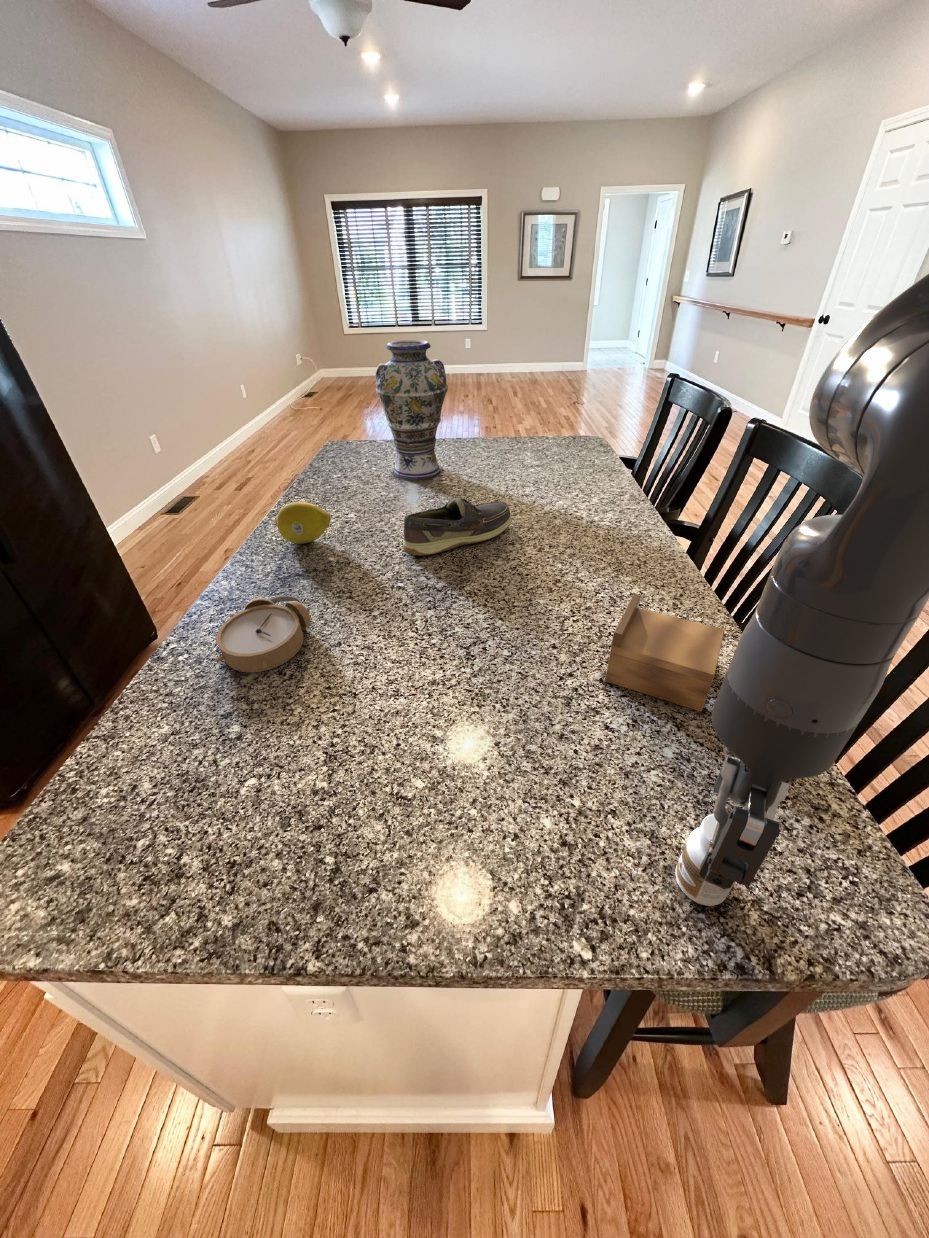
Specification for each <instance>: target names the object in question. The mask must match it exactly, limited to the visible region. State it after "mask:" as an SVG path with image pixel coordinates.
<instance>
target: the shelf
mask: <svg viewBox="0 0 929 1238" xmlns="http://www.w3.org/2000/svg"><path fill="white" fill-rule="evenodd" d="M641 599H642V595H640V594H637V593H633V594H632V596H631V598H630V599H629V602H628V604H627V606H626V608H625V610H624V612H623V614H622V615H621V618H620V620H619V622H618V624H617V626H616V628H615V630H614V631H613V636H612V641H611V646H610V652H609V655H608V656H609V658H608V661H607V668H606V671H605V677H604V682H607V683H609V684H612V685H617V686H619V687H622V688H625V689H628V690H632V691H636V692H638V693H641V694H644V695H646V696H651V697H654V698H657V699H660V700H663V701H667V702H670V703H672V704H676V705H678V706H682V707H685V708H688V709H691V710H695V711H698V712H703V709H704V707H705V703H706V701H707V698H708V695H709V692H710V690H711V687H712V684H713V681H714V678H715V675H716V672H717V671H716V670H717V667H718V662H719V656H720V652H721V648H722V645H723V644H722V643H723V641H724V635H725V631H726V630H725V629H724V628H720V627H716V626H712V625H709V624H705V623H700V622H696V621H692V620H688V619H685V618H680V617H677V616H673V615H668V614H666V613H661V612H657V611H652V610H649V609H645V608H642V607H640V603H641Z"/></svg>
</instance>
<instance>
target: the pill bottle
mask: <svg viewBox="0 0 929 1238" xmlns="http://www.w3.org/2000/svg"><path fill="white" fill-rule="evenodd" d="M716 825H717V821H716V819H715V817H714V813H711V814H708V815H707V816H705V817H704V818H703V820H702V821H701V823H700V826H699V827H697V828H695V829H694V830H692V831H691V833H690V834H689V836H688V837H687V840H686V842H685V844H684V847H683V848H682V851H681V854H680V856H679V859H678V861H677V864H676V866H675V872H674V873H675V879H676V882H677V885H678V886H679V888H680V890H681V892H683V894H684V895H685V896H687V897H688V898H689V899H690V900H691V901H693V902H695V903H697V904H699V905H702V906H707V907H712V906H714V907H715V906H717V905H720V904H722V903H723V902H724V901H725V900H726V898H727V897H728V896H729V894H730V892H731V890H732V888H733V887H734V885H735V883H736V881H734V883H733V885H732V886H731V888H727V889H725V890H724V889H722V888H720V887H718V886H715V885H713V884H711V883H709V882H706V881H704V879H703V878H701V877H700V875H699V871H700V865H701V863H702V861H703V859H704V857H705V855H706V853H707V851H708V849H709V842H710V840H712V838H713V835H714V832H715V829H716Z"/></svg>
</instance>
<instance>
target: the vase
mask: <svg viewBox="0 0 929 1238" xmlns="http://www.w3.org/2000/svg"><path fill="white" fill-rule="evenodd" d="M431 347H432V346H431V343H430V342H429V341H427V340H422V339H421V340H419V339H403V340H394V341H389V342H388V343H387V344H386V346H385V348H386V350H387V351H390V353H391V358H390V359H389V361H388V362H380V363H379V364H378V365H377V367H376V370H375V377H374V378H375V386H376V388H375V393H376V395H377V396H378V399H379V401H380V404H381V407H382V409H383V411H384V415H385V418H386V424H387V426H388V427H389V429H390V432H391V435H392V438H393V444H394V447H395V452H396V458H395V464H394V470H393V474H394V476H396V477H397V478H399V479H403V480H412V481H413V480H414V481H415V480H416V481H417V480H425V479H430V478H434V477H436V476H438V475H439V474H440V473H441V470H442V469H441V467H440V466H439V462H438V459H437V455H436V442H437V431H438V427H439V425H440V423H441V422H442V419H441V416H442V415H441V414H442V410H443V405H444V402H445V398H446V395H447V393H448V390H449V386H448V384H447V382H448V381H447V374H446V369H445V365H444V363H443V362H442V360H441V359H439V358H435V359H430V358H429V357H427V351H428V349H431Z"/></svg>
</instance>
